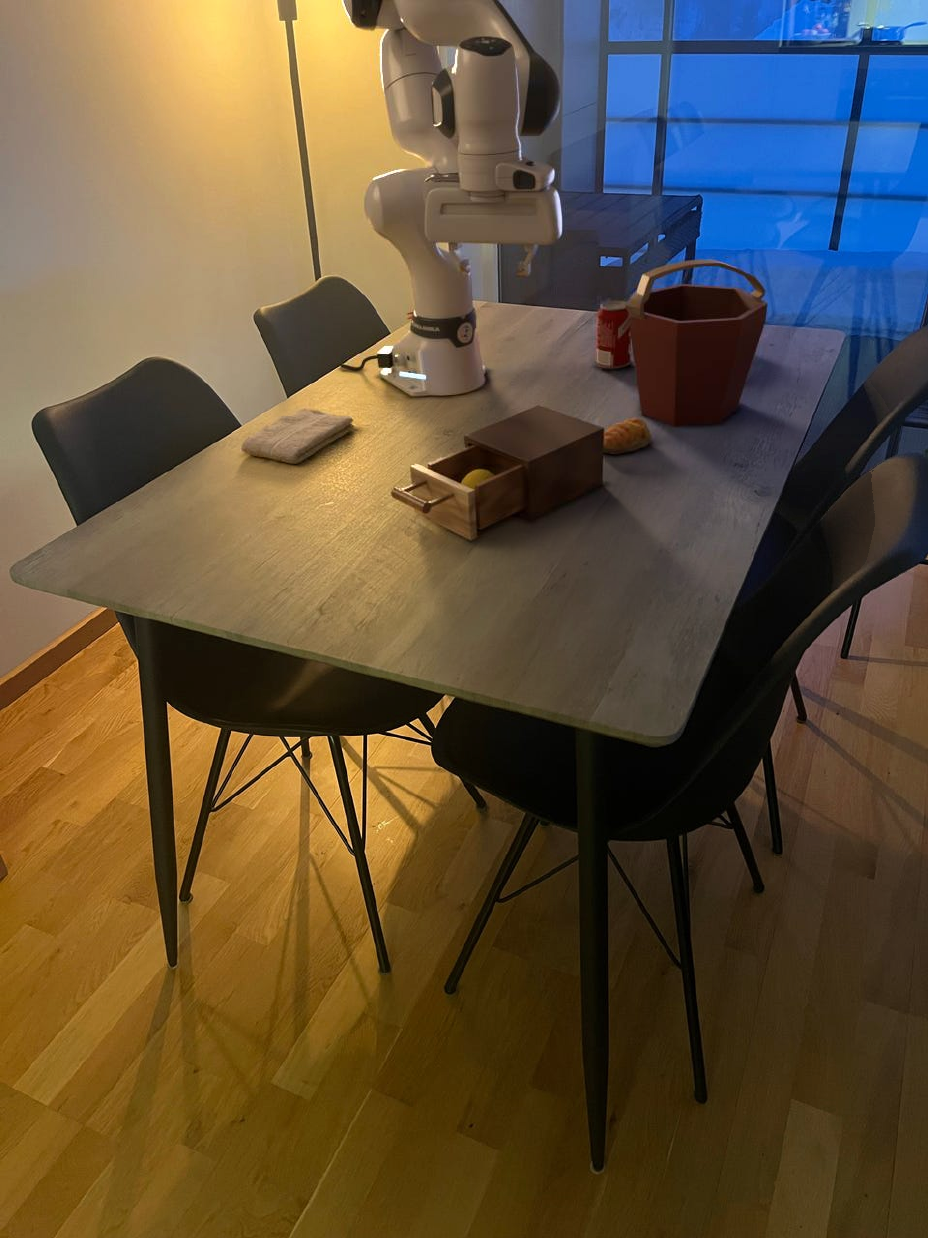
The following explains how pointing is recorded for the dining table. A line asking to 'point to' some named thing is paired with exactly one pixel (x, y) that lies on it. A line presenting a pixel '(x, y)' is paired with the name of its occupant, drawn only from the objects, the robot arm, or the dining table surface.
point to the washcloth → (297, 435)
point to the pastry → (626, 436)
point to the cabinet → (547, 455)
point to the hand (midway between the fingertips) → (494, 273)
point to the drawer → (465, 490)
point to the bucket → (693, 344)
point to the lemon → (476, 478)
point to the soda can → (613, 335)
